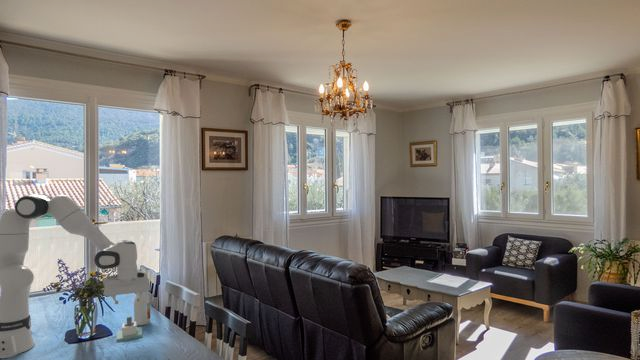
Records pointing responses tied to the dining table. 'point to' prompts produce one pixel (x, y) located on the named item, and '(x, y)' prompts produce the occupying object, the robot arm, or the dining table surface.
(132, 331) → the beige square open box
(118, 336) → the post stand
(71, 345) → the dining table surface
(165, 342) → the dining table surface
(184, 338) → the dining table surface
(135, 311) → the milk bottle
